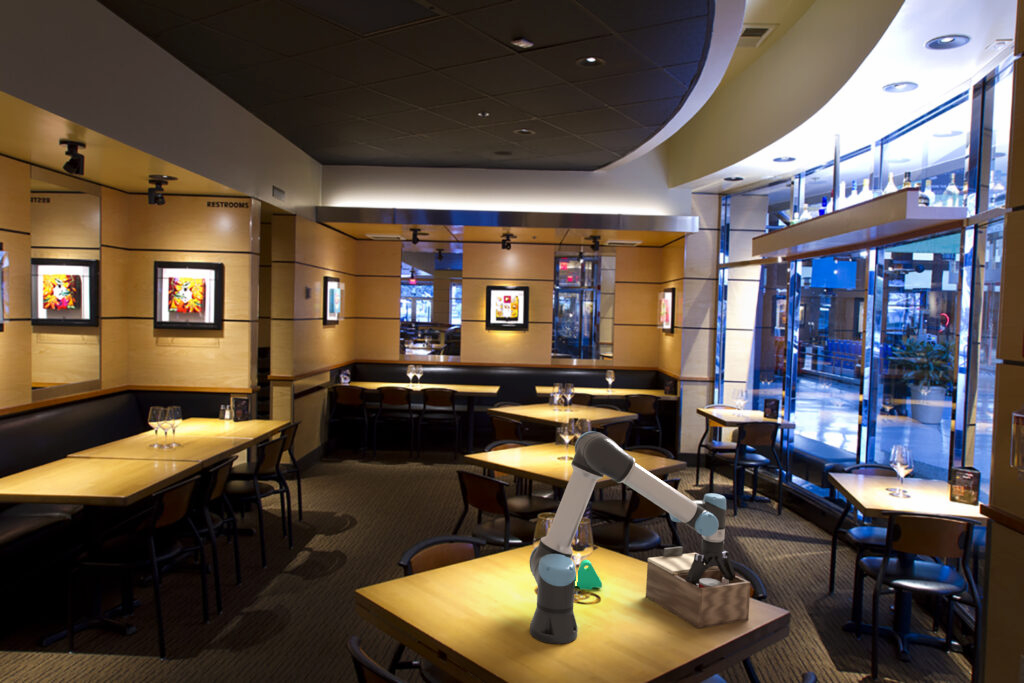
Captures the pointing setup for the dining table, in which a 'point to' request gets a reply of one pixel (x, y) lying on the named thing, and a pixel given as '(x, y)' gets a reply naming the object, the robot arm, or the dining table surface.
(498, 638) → the dining table surface
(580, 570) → the camera mount
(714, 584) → the canned food
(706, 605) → the housing
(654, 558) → the lid
